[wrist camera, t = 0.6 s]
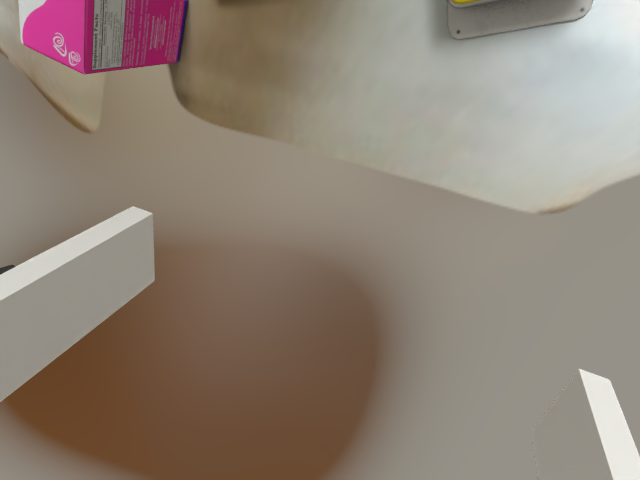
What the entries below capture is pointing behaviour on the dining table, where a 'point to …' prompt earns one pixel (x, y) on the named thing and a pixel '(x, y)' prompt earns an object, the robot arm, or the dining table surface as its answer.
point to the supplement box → (104, 32)
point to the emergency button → (509, 15)
